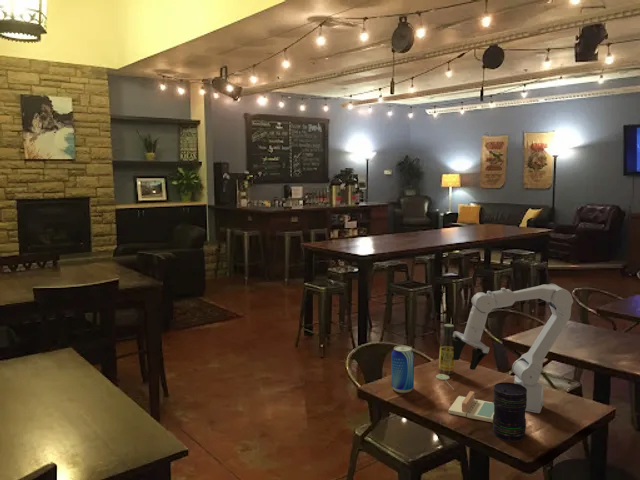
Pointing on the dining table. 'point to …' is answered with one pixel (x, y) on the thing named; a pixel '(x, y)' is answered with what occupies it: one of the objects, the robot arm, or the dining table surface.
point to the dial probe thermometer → (443, 378)
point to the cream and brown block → (462, 405)
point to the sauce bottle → (447, 351)
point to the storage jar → (509, 411)
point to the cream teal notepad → (482, 411)
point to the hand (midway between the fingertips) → (463, 364)
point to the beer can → (402, 369)
